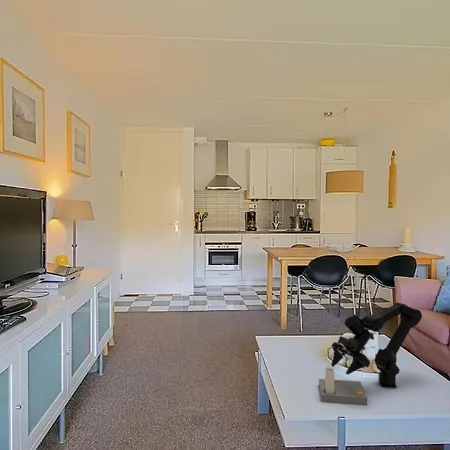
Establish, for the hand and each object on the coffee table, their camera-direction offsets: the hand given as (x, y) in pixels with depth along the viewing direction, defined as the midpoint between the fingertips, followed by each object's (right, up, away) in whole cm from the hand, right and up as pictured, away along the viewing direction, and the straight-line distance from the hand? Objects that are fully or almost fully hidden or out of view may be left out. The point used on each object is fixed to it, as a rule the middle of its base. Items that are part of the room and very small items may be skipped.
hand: (339, 370), depth 169 cm
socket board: (+2, -11, +2) cm, 12 cm away
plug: (-5, -11, -2) cm, 12 cm away
